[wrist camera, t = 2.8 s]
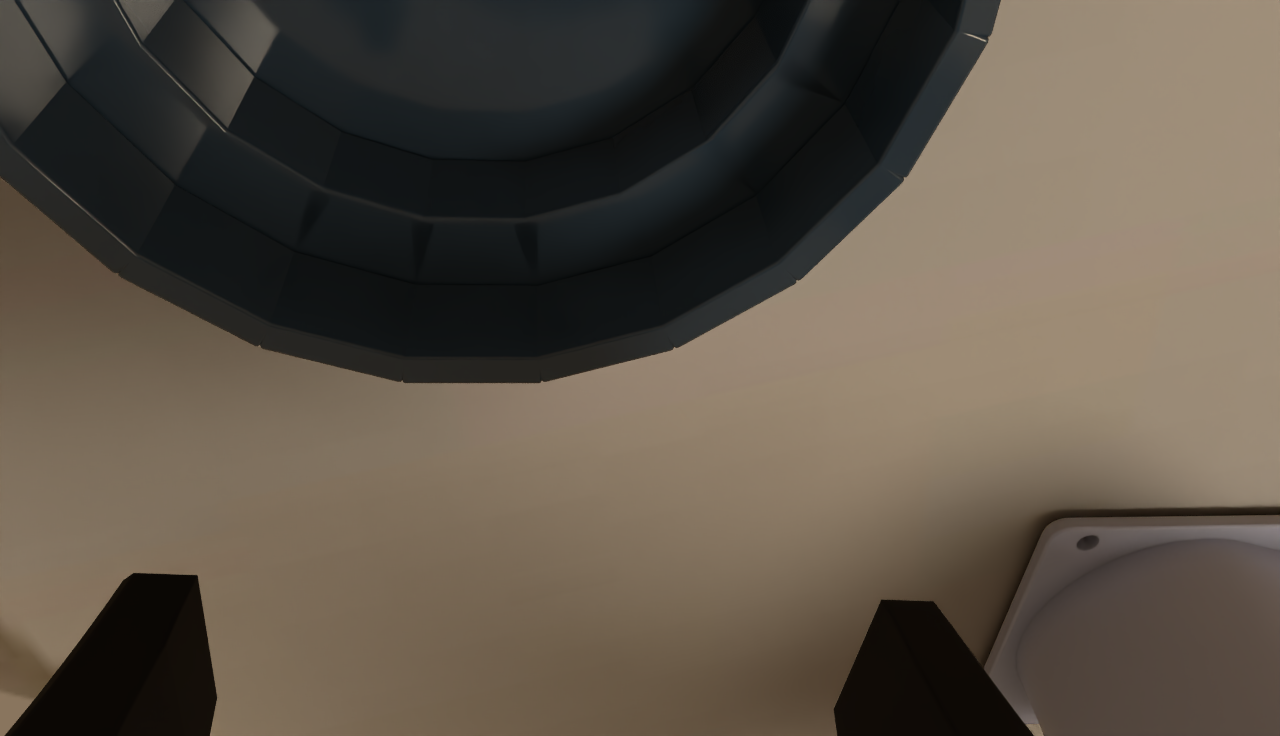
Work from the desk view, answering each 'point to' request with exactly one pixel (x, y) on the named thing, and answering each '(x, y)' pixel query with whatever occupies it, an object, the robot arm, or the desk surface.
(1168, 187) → the desk surface
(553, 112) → the bowl
